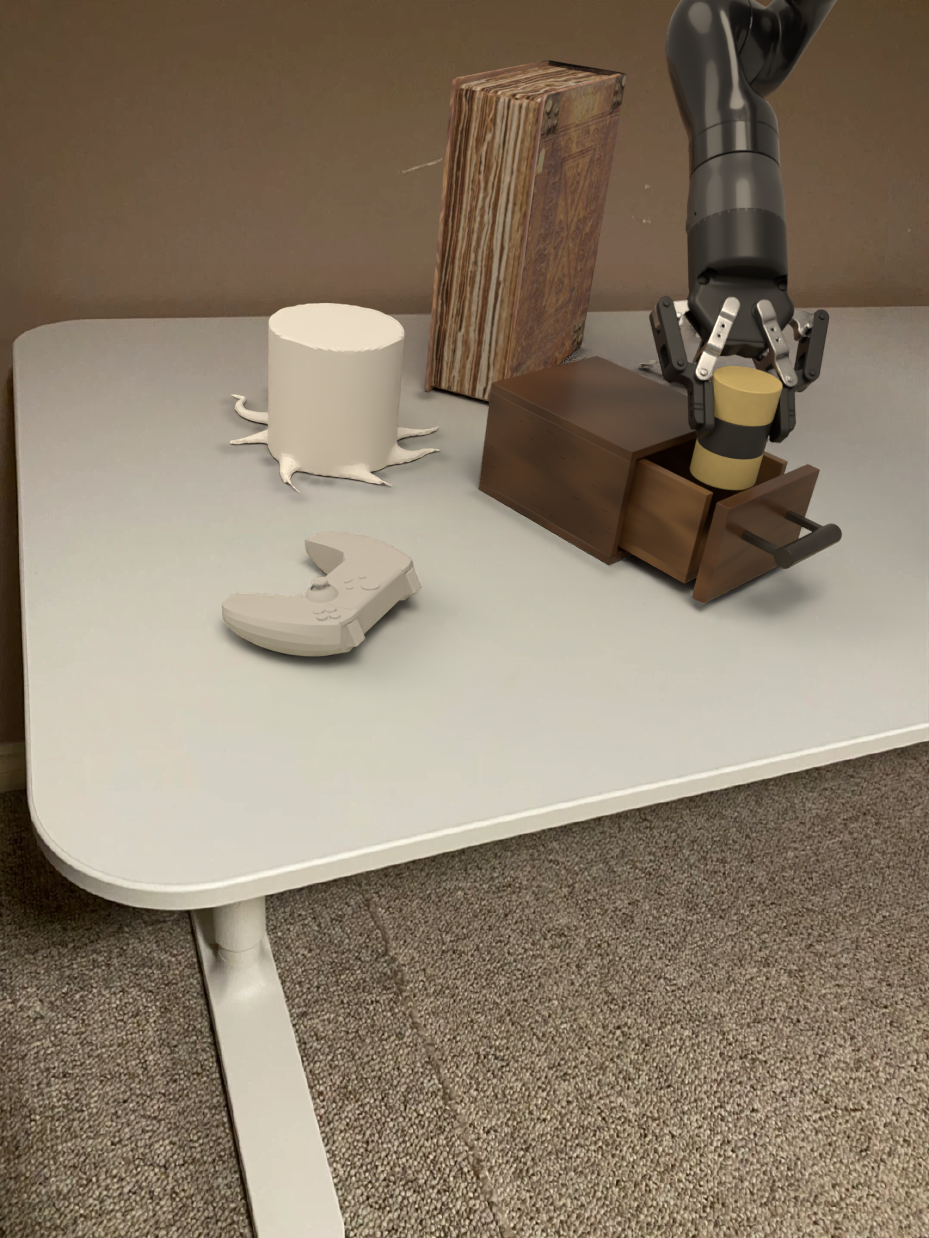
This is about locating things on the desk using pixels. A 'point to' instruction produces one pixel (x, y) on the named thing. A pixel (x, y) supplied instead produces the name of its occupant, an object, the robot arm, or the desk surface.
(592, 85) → the book
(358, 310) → the tree stump
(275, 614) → the game controller
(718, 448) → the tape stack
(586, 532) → the cabinet
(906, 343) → the desk surface
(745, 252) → the robot arm
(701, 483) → the drawer
